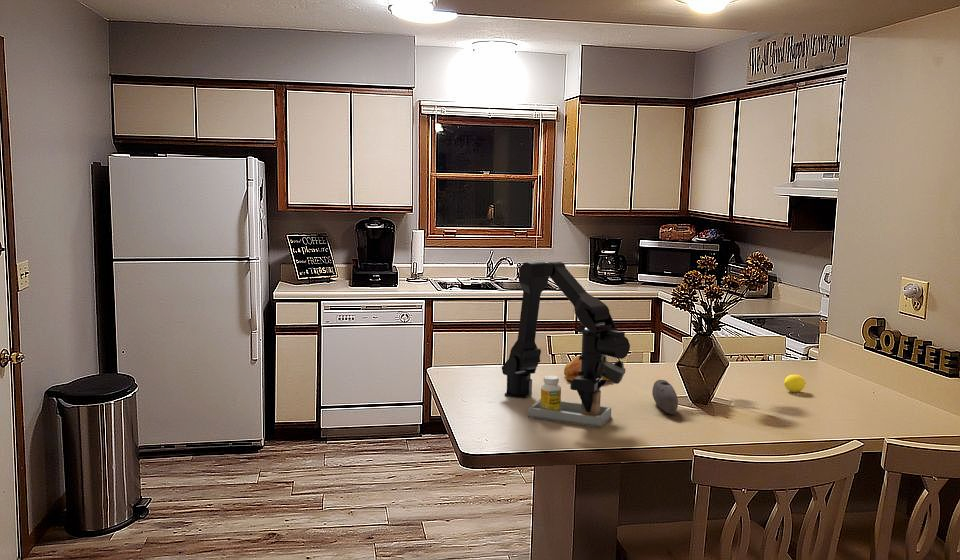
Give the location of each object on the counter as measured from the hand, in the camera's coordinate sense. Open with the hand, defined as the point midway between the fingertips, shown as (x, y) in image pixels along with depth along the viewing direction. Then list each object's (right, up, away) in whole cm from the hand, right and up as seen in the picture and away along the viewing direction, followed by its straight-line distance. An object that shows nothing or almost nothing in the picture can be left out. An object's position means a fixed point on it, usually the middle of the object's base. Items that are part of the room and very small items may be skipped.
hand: (590, 409), depth 210 cm
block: (0, -1, 0) cm, 1 cm away
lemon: (+66, 0, +32) cm, 74 cm away
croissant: (+5, +2, +43) cm, 44 cm away
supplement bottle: (-10, -2, +4) cm, 11 cm away
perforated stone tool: (+22, -2, +11) cm, 25 cm away
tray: (-5, -2, +2) cm, 6 cm away
